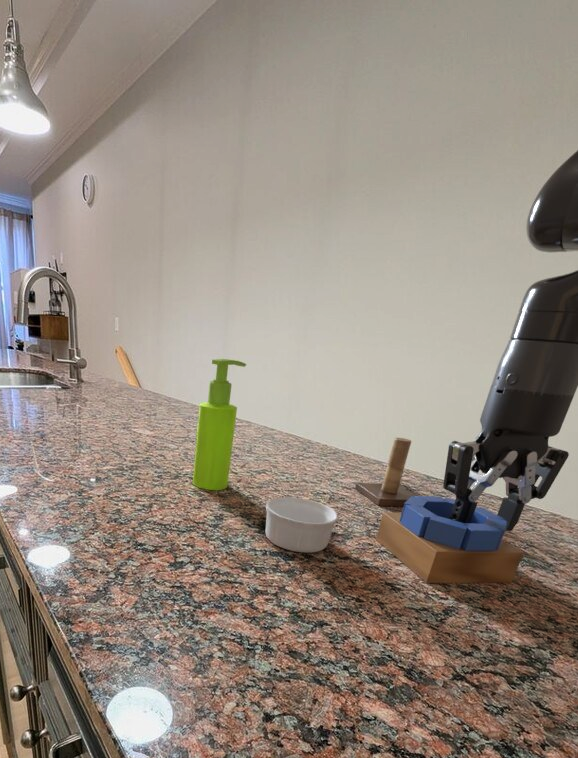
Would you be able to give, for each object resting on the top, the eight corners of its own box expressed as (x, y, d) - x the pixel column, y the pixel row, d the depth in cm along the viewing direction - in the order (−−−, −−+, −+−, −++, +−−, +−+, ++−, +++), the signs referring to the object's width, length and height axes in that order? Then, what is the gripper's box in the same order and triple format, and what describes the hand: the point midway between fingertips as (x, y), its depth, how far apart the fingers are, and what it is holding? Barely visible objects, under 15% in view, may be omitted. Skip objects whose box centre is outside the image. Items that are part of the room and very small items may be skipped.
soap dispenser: (239, 486, 75) (255, 362, 67) (206, 492, 71) (219, 360, 64) (218, 476, 79) (231, 358, 72) (186, 480, 76) (196, 356, 68)
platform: (448, 540, 62) (457, 513, 60) (511, 583, 52) (524, 552, 50) (375, 539, 60) (382, 512, 58) (426, 583, 50) (437, 551, 48)
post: (395, 490, 81) (410, 435, 77) (422, 507, 74) (440, 446, 70) (354, 488, 80) (368, 432, 76) (378, 505, 72) (394, 444, 69)
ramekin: (279, 520, 63) (284, 491, 61) (340, 540, 59) (347, 509, 57) (249, 539, 56) (253, 508, 55) (315, 564, 52) (323, 530, 50)
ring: (457, 514, 60) (463, 497, 59) (521, 551, 50) (529, 531, 49) (385, 512, 58) (390, 494, 57) (437, 550, 48) (444, 529, 48)
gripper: (557, 386, 53) (507, 517, 59) (450, 377, 51) (409, 514, 57) (622, 396, 46) (557, 542, 53) (501, 386, 44) (448, 541, 50)
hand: (480, 527), depth 55 cm, fingers open, 5 cm apart
